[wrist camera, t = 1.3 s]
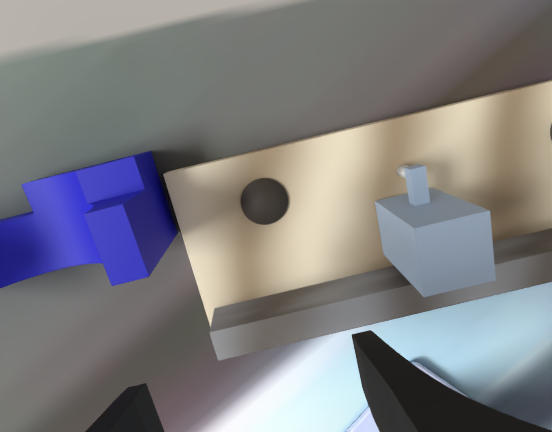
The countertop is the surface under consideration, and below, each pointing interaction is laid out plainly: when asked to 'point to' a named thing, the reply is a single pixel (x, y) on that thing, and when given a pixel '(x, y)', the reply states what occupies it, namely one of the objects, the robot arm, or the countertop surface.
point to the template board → (360, 218)
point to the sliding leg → (435, 236)
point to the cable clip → (90, 222)
